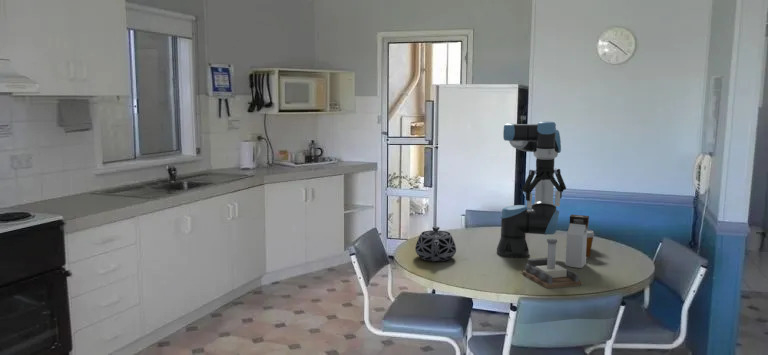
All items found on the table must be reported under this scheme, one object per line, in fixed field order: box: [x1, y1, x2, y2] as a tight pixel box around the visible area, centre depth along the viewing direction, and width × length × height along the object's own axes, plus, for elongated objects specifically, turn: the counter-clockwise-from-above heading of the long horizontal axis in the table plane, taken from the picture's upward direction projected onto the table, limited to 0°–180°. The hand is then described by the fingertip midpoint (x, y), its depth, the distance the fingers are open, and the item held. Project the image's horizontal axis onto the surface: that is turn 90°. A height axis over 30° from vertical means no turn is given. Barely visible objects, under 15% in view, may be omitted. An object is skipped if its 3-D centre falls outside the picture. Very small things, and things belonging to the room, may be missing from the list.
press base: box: [521, 257, 583, 289], centre depth 261 cm, size 20×16×6 cm
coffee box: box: [568, 214, 590, 230], centre depth 315 cm, size 9×6×16 cm
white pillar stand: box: [535, 238, 567, 278], centre depth 261 cm, size 8×10×15 cm
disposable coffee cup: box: [586, 229, 595, 258], centre depth 299 cm, size 10×10×12 cm
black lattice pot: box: [414, 226, 457, 262], centre depth 294 cm, size 19×31×15 cm, turn 177°
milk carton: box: [565, 222, 587, 269], centre depth 282 cm, size 7×7×19 cm
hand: (543, 207), depth 270 cm, fingers open, 13 cm apart
